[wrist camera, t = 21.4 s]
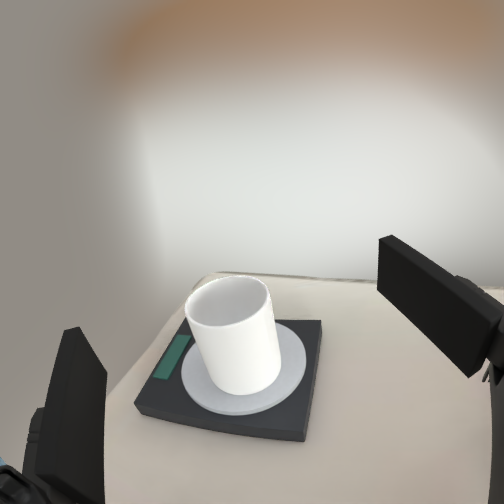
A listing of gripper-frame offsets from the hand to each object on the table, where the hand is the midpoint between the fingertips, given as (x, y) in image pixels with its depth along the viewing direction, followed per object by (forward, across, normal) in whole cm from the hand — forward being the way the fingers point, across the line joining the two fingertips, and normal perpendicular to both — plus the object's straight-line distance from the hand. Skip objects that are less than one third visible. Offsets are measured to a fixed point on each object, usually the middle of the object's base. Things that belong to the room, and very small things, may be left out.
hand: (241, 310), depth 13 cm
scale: (+17, -1, -23) cm, 29 cm away
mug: (+17, 0, -20) cm, 26 cm away
